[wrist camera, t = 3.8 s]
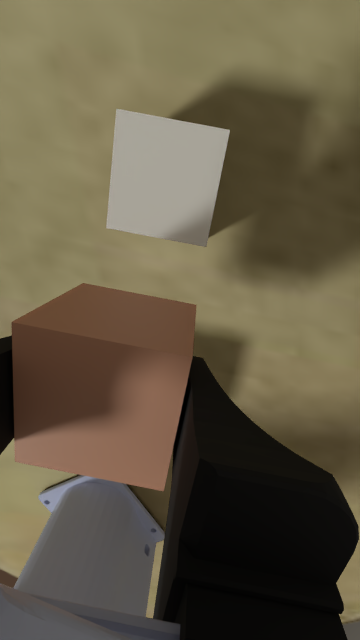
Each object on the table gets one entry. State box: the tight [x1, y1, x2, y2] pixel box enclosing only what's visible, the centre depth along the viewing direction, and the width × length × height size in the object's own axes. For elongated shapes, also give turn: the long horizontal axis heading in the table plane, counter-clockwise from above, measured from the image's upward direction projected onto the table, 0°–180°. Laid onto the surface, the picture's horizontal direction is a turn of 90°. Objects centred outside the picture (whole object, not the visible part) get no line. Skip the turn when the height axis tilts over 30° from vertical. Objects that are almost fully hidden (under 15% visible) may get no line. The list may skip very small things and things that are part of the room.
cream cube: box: [106, 109, 230, 247], centre depth 15 cm, size 5×5×5 cm
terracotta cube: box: [12, 283, 196, 491], centre depth 11 cm, size 5×5×5 cm
